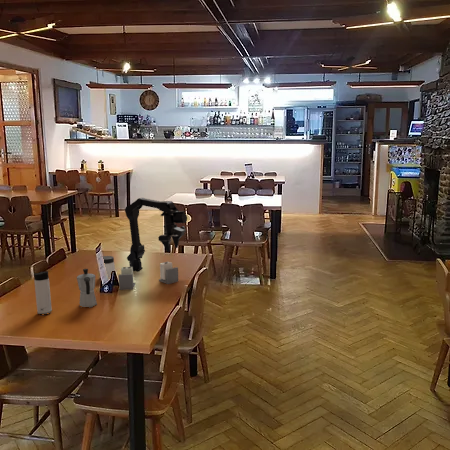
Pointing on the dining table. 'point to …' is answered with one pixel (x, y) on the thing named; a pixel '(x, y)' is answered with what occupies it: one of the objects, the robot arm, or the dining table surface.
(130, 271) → the block with two buttons
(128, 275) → the housing
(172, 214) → the robot arm
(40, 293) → the travel mug
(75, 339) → the dining table surface
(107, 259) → the jar
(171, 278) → the housing
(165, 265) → the plunger
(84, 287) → the coffee maker
